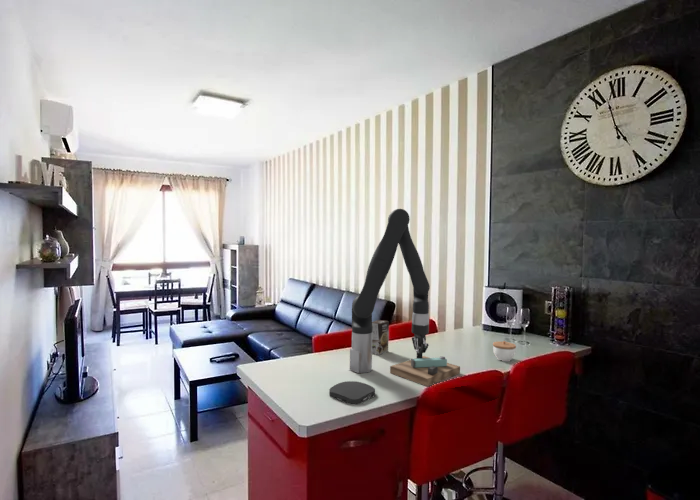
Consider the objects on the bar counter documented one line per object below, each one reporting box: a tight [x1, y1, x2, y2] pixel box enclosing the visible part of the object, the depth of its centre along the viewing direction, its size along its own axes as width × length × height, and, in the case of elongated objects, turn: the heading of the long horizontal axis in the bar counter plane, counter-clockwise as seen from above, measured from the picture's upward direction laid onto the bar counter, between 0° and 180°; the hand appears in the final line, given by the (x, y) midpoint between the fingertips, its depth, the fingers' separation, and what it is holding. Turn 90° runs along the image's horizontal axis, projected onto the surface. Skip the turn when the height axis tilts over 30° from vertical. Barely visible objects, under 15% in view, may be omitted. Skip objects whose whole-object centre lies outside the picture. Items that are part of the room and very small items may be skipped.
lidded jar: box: [492, 340, 517, 362], centre depth 193 cm, size 11×11×9 cm
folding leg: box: [410, 356, 448, 368], centre depth 172 cm, size 16×3×4 cm, turn 101°
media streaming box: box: [328, 380, 376, 405], centre depth 146 cm, size 15×15×3 cm
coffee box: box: [372, 319, 390, 356], centre depth 202 cm, size 9×6×16 cm
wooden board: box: [389, 355, 461, 387], centre depth 171 cm, size 24×20×6 cm
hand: (419, 360), depth 174 cm, fingers closed
